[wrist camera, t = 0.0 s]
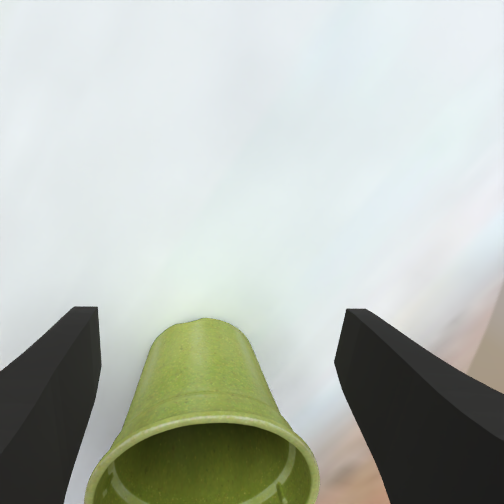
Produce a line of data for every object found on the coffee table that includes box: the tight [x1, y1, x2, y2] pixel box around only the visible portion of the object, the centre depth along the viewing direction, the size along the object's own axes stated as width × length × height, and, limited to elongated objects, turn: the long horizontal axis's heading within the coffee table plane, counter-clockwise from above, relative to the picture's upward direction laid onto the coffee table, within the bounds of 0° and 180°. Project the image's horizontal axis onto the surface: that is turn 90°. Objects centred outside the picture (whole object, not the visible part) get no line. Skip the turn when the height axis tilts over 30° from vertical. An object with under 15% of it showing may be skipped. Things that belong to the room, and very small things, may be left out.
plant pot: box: [84, 318, 320, 504], centre depth 21 cm, size 9×9×9 cm
